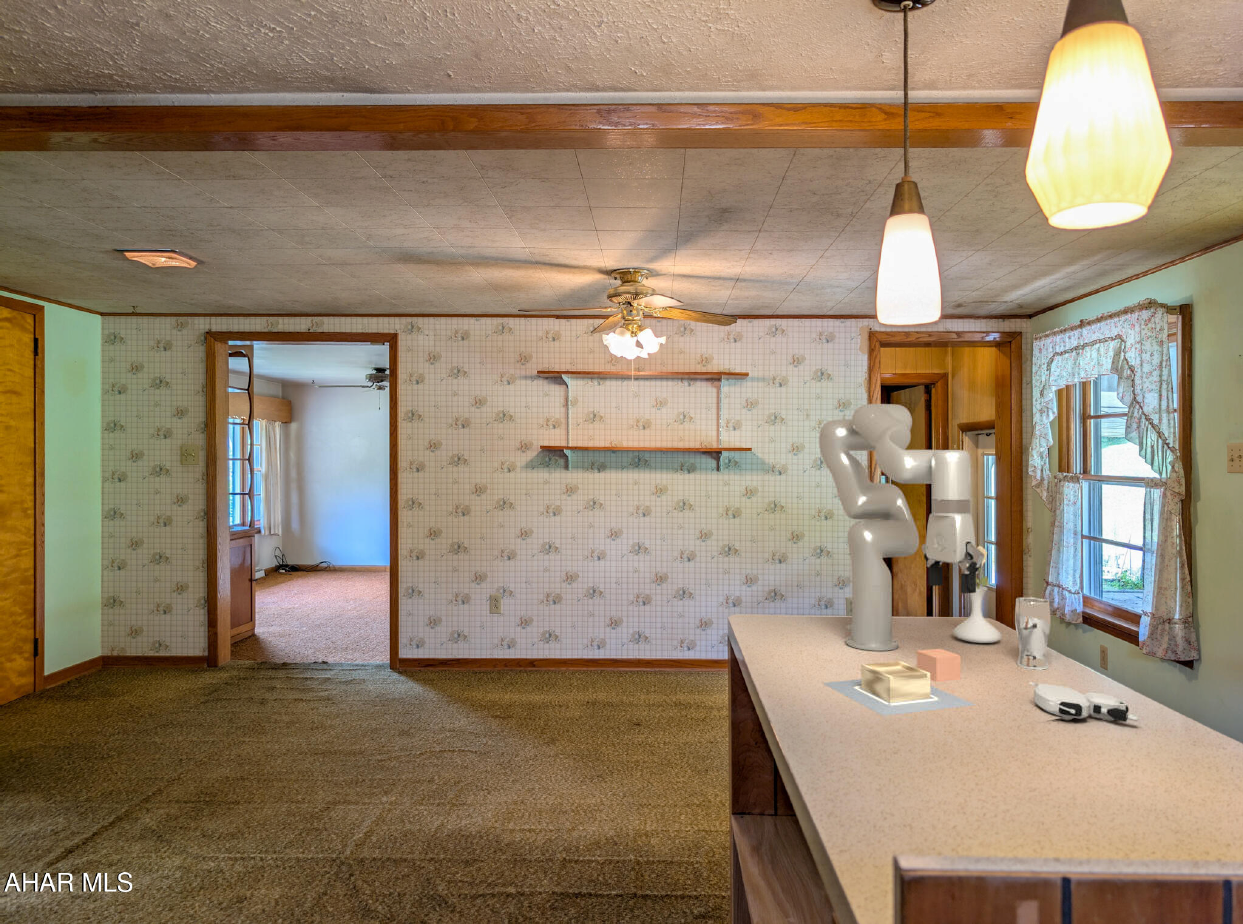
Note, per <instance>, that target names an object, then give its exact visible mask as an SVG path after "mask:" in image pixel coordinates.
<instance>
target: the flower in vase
mask: <svg viewBox="0 0 1243 924" xmlns="http://www.w3.org/2000/svg"><path fill="white" fill-rule="evenodd" d="M975 547H976V548H977V549H979V550H980V551H981V552H982V553H983V554H984V559H983V561H982V563H981V564H982V566H981V567H980V568H979V570H980V573H981V574H980V575H981V577H980V579H978V578H977V577H976V584H977V583H978V585H976V592H975V593H969V595H970V600H971V614H970V616H969V617H968V618H967V619H966V620H964V621H963V622H962V621H961V623H959V624H958V625H957V626H955V628H954V629H953V630H952V634H953V636H954V637H955V638H957V639H959V640H962V641H965V642H969V643H976V644H977V643H978V644H987V643H989V644H990V643H996V642H998V641H1000V640H1001V639H1002V638H1003V636H1002V635H1001V632H1000V631H999V630H998V629H997V628H996V627H995V626H994V625H992V624H991V623H990V622H988V620H986V619H985V617H984V616H983V612H982V607H983V606H982V603H983V598H984V595H985V593H986V592H987V590H988V587H986V586H990V583H989V580H988V576H984V573H983V570H982V567H983V566H984V563H986V561H987V556H988V555H987V554H988V551H987V550H986V549H985V548H983V546H981V545H979V546H976V545H975ZM966 565H967V567H968V566H969V565H968V564H966Z"/></svg>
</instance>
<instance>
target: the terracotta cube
mask: <svg viewBox="0 0 1243 924" xmlns="http://www.w3.org/2000/svg"><path fill="white" fill-rule="evenodd" d="M961 657H962V656H961V655H959V654H957V653H955V652H951V651H948V650H946V649H942V648H933V649H922V650H916V668H919V669H921V670H923V671H926V672H928V673H930V681H934V682H936V683H937V682H939V683H941V682H947V681H958V680H961V676H962V675H961V672H962V670H961V669H962V667H961V666H962V665H961V662H962V661H961Z"/></svg>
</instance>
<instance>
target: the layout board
mask: <svg viewBox="0 0 1243 924" xmlns="http://www.w3.org/2000/svg"><path fill="white" fill-rule="evenodd" d="M822 684H823V685H824V686H827V688H828V687H829V688H831V689H832V690H834V691H836V692H838V693H839V694H841V695H843V696H845V697H848V698H849V699H851V700H852V701H855V702H857V703H859V704H860V705H863V706H864V707H866V708H868V709H870V710H871V711H873V712H875V713H878V714H879V715H882V716H883V717H886V716H893V715H903V714H912V713H918V712H920V713H921V712H927V711H935V710H944V709H945V710H946V709H952V708H961V707H969V706H976V703H972V702H971V701H968V700H965V699H963V698H961V697H958V696H956V695H954V694H951V693H949V692H947V691H944V690H942V689H939V688H938V687H935V686H932V685H930V698H929V699H920V700H911V701H902V702H893V703H890V702H887V701H885V700H883V699H881V698H879V697H877V696H875V695H873V694H871V693H869V692H867V691H865V690H863V689H862V688H861V678H858V679H849V680H840V681H830V682H828V681H827V682H822Z"/></svg>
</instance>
